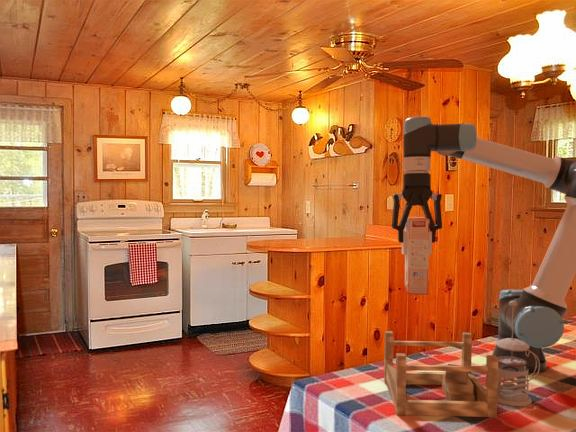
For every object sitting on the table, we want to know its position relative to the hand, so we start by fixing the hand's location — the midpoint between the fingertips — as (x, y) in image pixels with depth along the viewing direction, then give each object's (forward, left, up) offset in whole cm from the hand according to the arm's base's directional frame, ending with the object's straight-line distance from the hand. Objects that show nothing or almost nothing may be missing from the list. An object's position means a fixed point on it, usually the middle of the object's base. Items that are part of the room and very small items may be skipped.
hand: (416, 253), depth 148 cm
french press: (-22, +16, -35) cm, 44 cm away
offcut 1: (-8, +16, -30) cm, 35 cm away
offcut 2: (-8, +15, -33) cm, 37 cm away
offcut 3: (-8, +16, -35) cm, 39 cm away
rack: (-2, +17, -35) cm, 39 cm away
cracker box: (0, 0, -11) cm, 11 cm away
